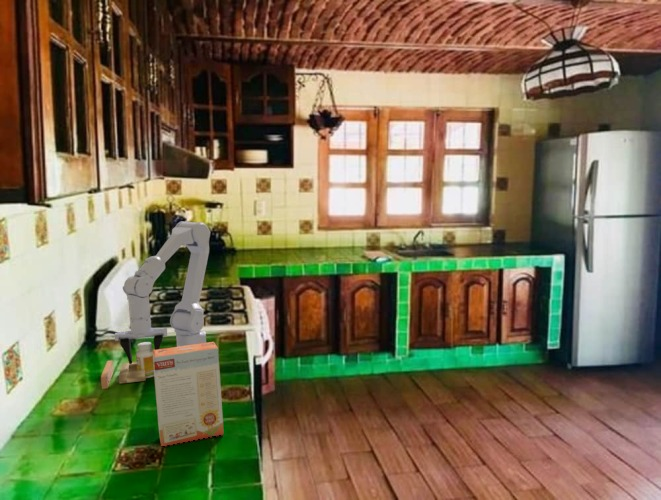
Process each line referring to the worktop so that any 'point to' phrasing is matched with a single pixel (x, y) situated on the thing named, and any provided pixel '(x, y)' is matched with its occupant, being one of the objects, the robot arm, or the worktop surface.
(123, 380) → the slot block
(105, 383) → the rail
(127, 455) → the worktop surface
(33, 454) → the worktop surface
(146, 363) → the supplement bottle
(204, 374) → the cracker box
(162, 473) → the worktop surface
